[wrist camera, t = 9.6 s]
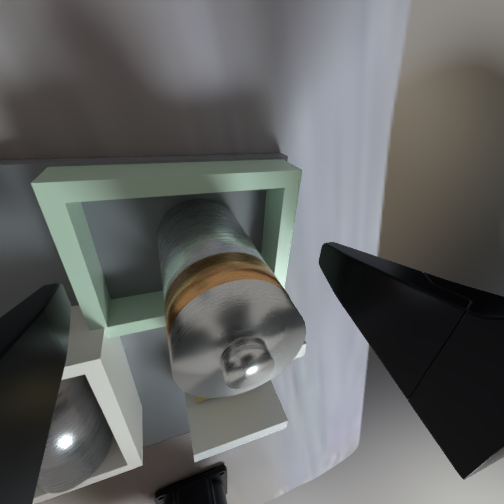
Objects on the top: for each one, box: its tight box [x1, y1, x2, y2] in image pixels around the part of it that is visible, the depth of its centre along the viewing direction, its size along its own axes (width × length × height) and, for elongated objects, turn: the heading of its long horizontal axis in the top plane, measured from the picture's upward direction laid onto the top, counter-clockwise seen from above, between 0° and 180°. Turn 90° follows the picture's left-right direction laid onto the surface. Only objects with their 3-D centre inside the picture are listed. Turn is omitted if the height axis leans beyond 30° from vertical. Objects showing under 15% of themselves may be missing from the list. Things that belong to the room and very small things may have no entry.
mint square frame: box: [0, 153, 307, 504], centre depth 12 cm, size 19×14×5 cm
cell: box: [157, 198, 306, 398], centre depth 9 cm, size 3×3×6 cm
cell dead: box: [36, 374, 113, 493], centre depth 11 cm, size 6×3×3 cm, turn 176°
